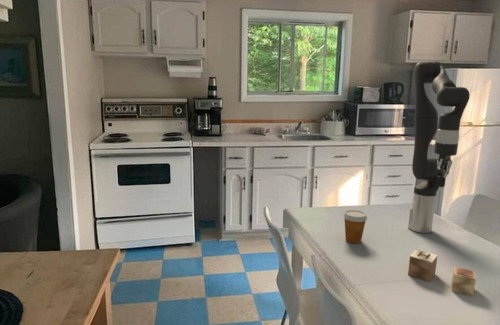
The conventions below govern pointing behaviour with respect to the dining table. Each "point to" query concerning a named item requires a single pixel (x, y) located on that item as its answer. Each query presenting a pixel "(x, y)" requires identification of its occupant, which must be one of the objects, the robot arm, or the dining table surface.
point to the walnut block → (422, 265)
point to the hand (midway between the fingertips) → (440, 186)
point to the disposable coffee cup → (354, 225)
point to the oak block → (463, 281)
